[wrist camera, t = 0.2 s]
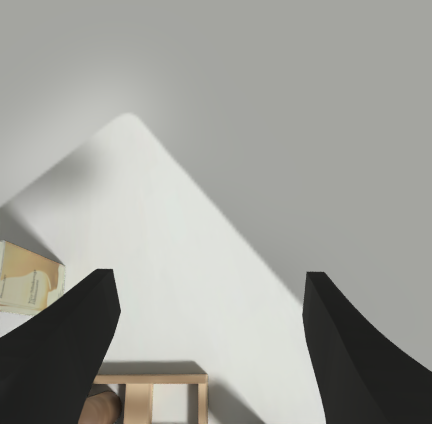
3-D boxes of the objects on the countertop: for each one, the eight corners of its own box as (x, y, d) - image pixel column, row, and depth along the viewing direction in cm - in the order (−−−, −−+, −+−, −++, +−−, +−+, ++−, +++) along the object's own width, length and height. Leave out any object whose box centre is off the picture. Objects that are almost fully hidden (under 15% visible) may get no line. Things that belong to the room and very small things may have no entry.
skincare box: (62, 314, 44) (-5, 305, 33) (28, 316, 45) (-49, 308, 33) (66, 263, 47) (5, 238, 35) (34, 265, 47) (-36, 242, 35)
